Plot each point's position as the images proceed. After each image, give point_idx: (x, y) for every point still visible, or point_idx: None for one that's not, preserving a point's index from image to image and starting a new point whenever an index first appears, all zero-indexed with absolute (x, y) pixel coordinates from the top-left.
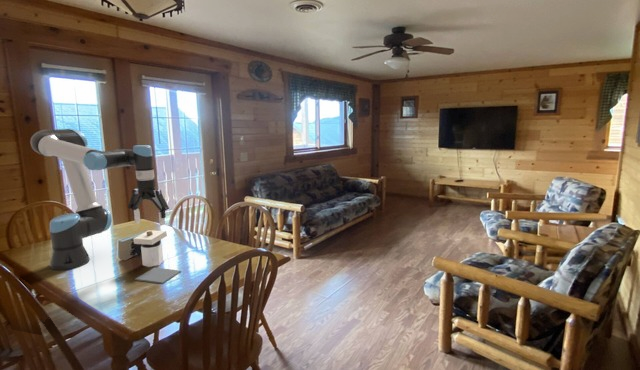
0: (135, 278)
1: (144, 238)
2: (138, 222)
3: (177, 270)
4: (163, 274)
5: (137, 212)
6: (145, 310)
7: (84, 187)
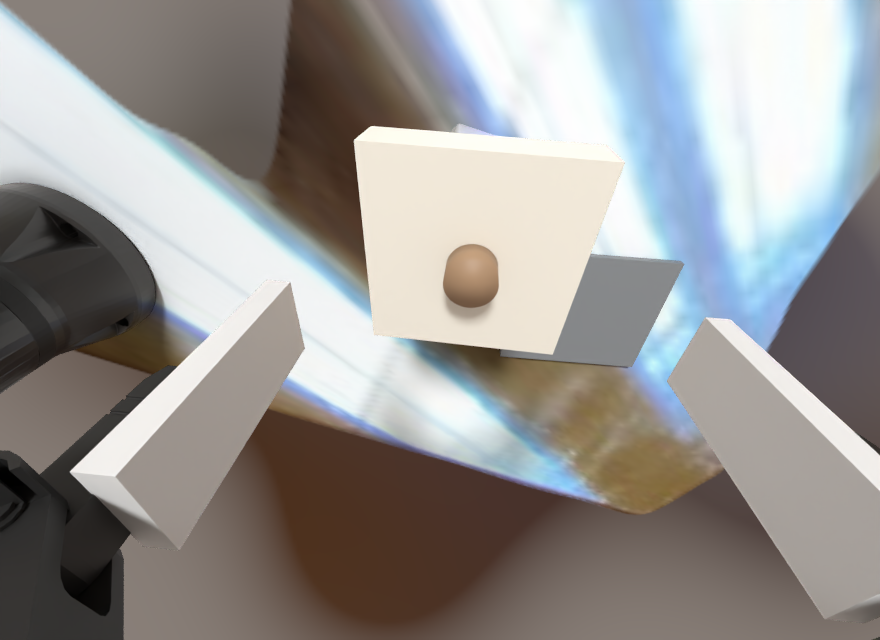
0: (501, 354)
1: (471, 333)
2: (294, 321)
3: (663, 264)
4: (605, 311)
5: (198, 449)
6: (634, 471)
7: None
